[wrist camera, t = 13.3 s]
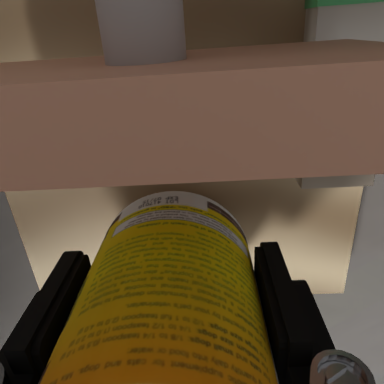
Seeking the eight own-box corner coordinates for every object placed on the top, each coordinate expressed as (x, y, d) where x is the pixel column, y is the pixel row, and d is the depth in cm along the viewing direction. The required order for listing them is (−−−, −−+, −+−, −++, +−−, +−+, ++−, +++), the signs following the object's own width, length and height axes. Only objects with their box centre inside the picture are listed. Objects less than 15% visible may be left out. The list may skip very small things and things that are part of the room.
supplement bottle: (91, 193, 12) (-242, 698, 3) (242, 176, 12) (395, 704, 3) (124, 304, 15) (-2, 770, 5) (250, 294, 14) (344, 779, 5)
